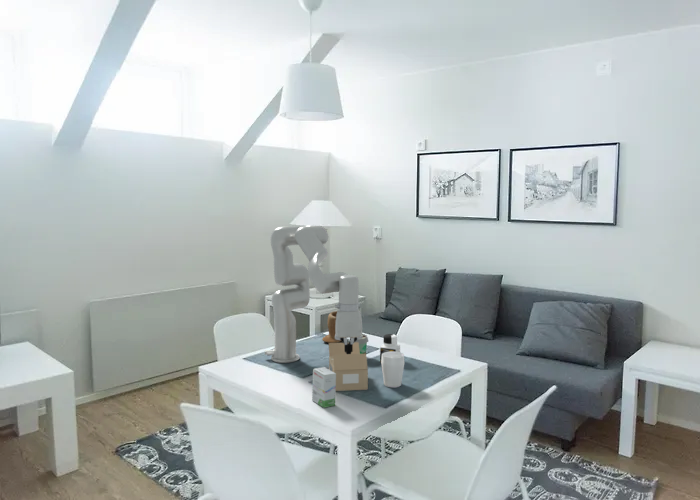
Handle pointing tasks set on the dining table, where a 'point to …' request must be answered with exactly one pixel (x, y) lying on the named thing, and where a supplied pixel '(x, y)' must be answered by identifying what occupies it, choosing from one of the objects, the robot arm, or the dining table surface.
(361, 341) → the food container
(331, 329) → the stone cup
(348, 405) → the dining table surface
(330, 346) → the far flap
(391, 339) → the medicine bottle
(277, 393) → the dining table surface
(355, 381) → the carton
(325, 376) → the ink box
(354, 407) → the dining table surface
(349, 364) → the near flap
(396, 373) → the cup
